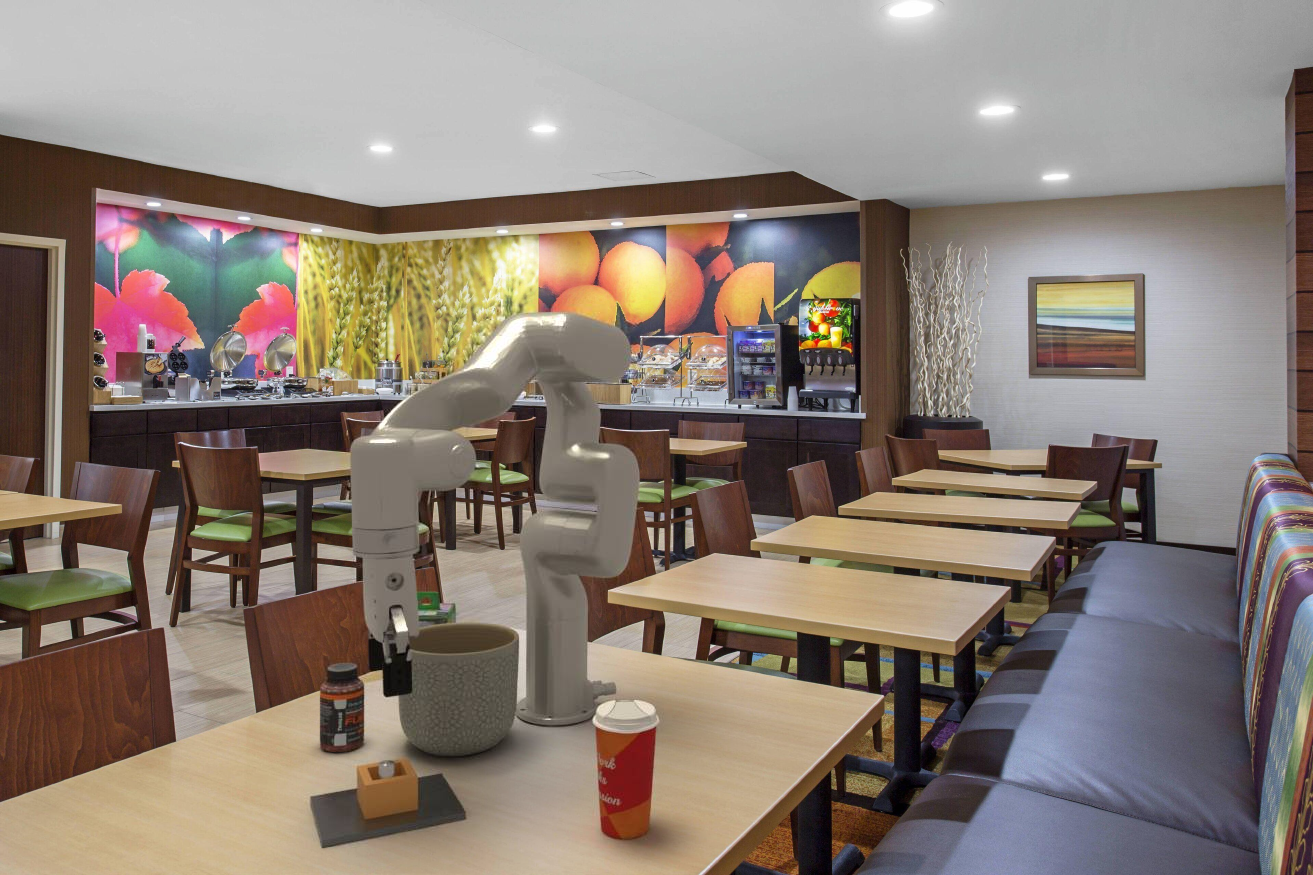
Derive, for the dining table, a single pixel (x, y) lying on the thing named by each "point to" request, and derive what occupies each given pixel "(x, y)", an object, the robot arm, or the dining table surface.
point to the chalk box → (435, 610)
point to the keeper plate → (346, 821)
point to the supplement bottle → (341, 709)
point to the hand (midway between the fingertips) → (389, 681)
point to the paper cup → (625, 766)
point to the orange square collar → (387, 790)
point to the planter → (461, 687)
